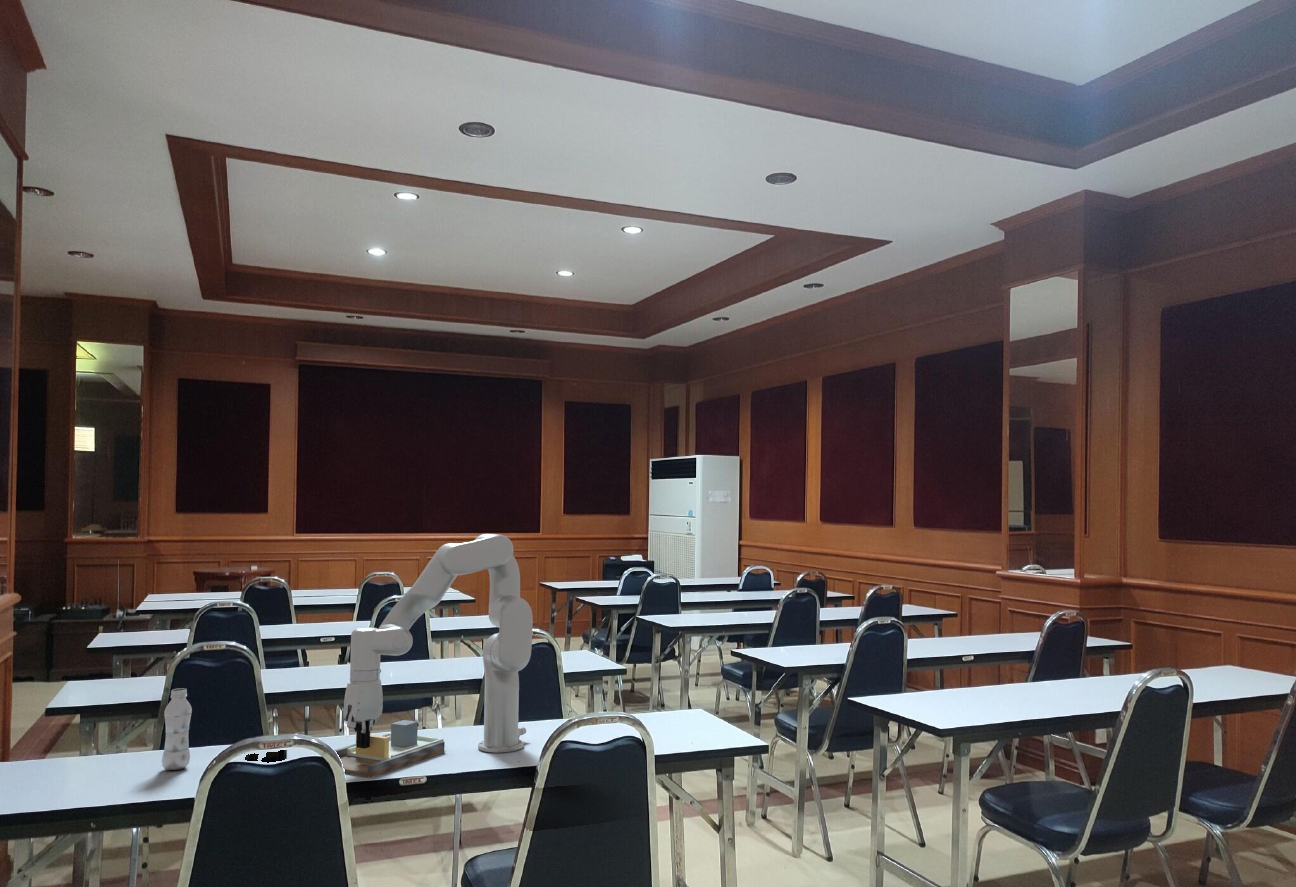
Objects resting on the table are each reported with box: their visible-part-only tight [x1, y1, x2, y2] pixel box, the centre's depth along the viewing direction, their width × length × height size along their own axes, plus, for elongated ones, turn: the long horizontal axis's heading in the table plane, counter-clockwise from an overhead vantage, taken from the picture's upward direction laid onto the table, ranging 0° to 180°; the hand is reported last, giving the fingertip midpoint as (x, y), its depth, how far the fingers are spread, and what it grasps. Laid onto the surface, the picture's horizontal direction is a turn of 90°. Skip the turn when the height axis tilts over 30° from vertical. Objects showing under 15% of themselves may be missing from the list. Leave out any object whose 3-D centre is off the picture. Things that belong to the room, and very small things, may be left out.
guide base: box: [334, 733, 446, 779], centre depth 243 cm, size 28×20×3 cm
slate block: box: [390, 719, 419, 748], centre depth 251 cm, size 5×5×6 cm
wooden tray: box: [347, 733, 445, 761], centre depth 248 cm, size 20×16×6 cm
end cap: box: [245, 749, 288, 763], centre depth 233 cm, size 10×7×7 cm
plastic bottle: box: [161, 687, 193, 771], centre depth 234 cm, size 6×7×20 cm
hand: (363, 747), depth 237 cm, fingers closed
